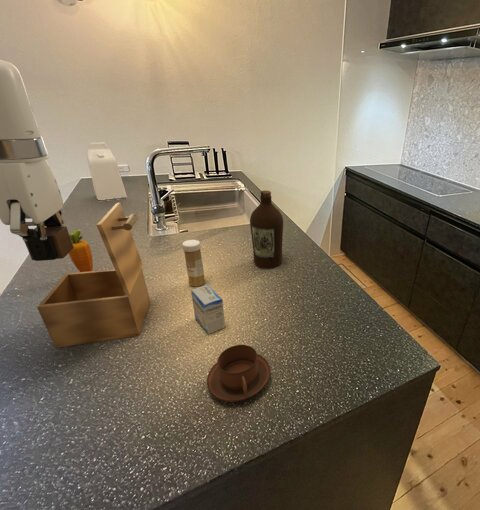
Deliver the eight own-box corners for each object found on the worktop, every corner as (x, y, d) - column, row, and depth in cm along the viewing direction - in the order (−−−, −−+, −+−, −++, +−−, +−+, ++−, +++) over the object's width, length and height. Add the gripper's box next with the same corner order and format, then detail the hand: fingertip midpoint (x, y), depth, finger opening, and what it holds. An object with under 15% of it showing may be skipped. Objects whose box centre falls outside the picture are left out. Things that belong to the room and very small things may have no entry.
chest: (55, 348, 65) (36, 307, 61) (79, 310, 77) (65, 273, 72) (139, 335, 70) (128, 296, 66) (150, 301, 82) (141, 266, 77)
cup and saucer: (282, 380, 62) (282, 358, 59) (228, 419, 54) (225, 396, 51) (248, 350, 69) (247, 328, 66) (196, 380, 61) (192, 357, 58)
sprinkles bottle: (185, 284, 90) (178, 243, 84) (197, 277, 94) (191, 237, 88) (197, 288, 89) (190, 247, 83) (209, 281, 93) (203, 241, 87)
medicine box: (194, 318, 77) (189, 290, 73) (212, 311, 80) (208, 283, 76) (208, 335, 72) (203, 305, 68) (226, 327, 75) (222, 298, 71)
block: (32, 260, 54) (22, 237, 52) (44, 249, 57) (36, 227, 55) (63, 258, 55) (55, 235, 53) (73, 247, 59) (66, 226, 57)
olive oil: (258, 253, 111) (255, 186, 100) (286, 257, 111) (286, 189, 99) (247, 267, 102) (242, 194, 91) (278, 271, 101) (277, 198, 90)
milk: (123, 192, 162) (111, 141, 151) (127, 198, 155) (114, 144, 143) (95, 195, 155) (80, 141, 143) (98, 201, 147) (81, 144, 136)
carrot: (73, 279, 88) (55, 231, 81) (89, 271, 93) (73, 225, 86) (87, 282, 87) (70, 234, 81) (103, 274, 92) (88, 228, 85)
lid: (96, 224, 58) (122, 221, 59) (116, 203, 69) (138, 200, 70) (125, 295, 65) (148, 291, 67) (139, 265, 77) (158, 262, 78)
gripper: (14, 141, 54) (50, 235, 62) (-61, 158, 40) (-2, 278, 48) (66, 142, 56) (94, 234, 64) (13, 160, 42) (57, 274, 50)
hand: (53, 252), depth 56 cm, fingers closed on block, 4 cm apart
